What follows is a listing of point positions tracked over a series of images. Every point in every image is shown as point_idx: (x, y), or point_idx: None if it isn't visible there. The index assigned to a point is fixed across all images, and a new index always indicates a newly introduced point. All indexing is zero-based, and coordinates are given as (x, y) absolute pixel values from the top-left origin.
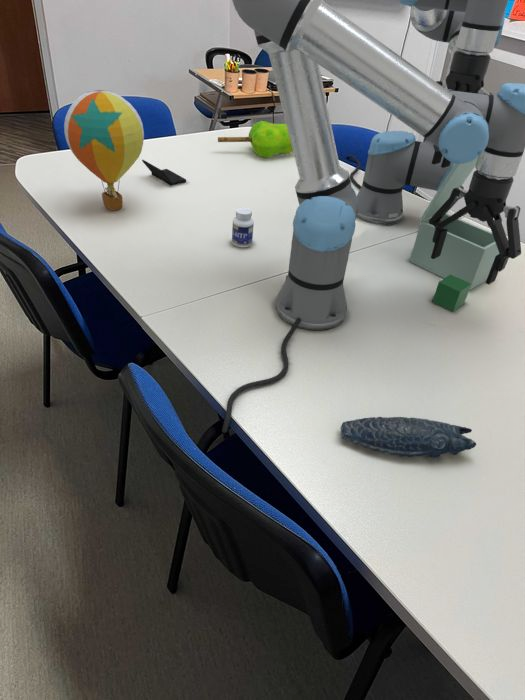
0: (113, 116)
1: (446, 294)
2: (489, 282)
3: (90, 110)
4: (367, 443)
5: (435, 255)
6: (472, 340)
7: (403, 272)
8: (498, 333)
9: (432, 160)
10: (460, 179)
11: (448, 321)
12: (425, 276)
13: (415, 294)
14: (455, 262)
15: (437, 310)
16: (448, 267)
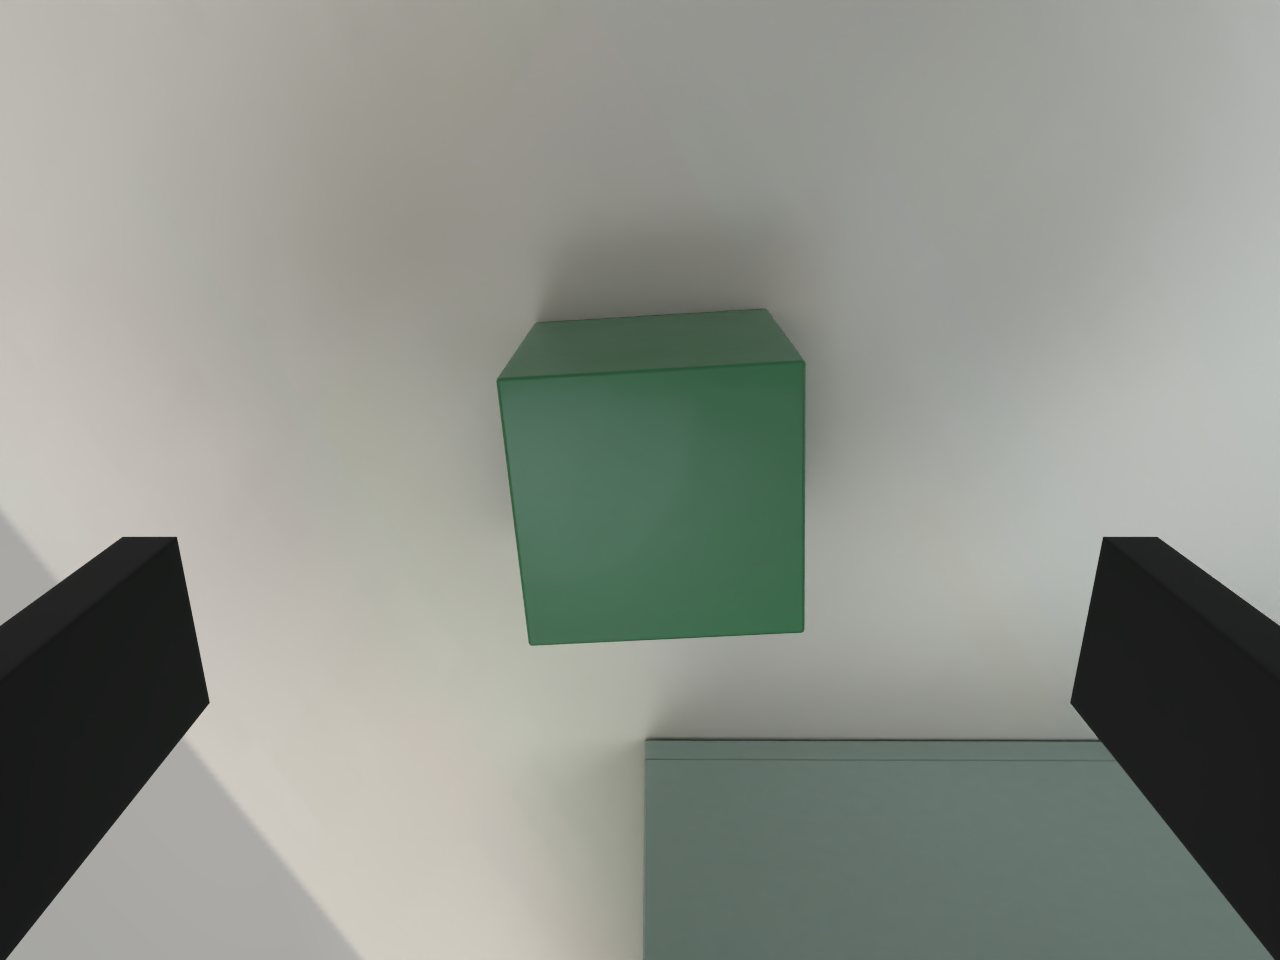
0: None
1: (653, 345)
2: (99, 556)
3: None
4: None
5: (1128, 590)
6: (113, 28)
7: (1244, 538)
8: (84, 364)
9: None
10: None
11: (459, 128)
12: (1043, 643)
13: (956, 284)
14: (898, 887)
15: (644, 213)
16: (929, 823)
